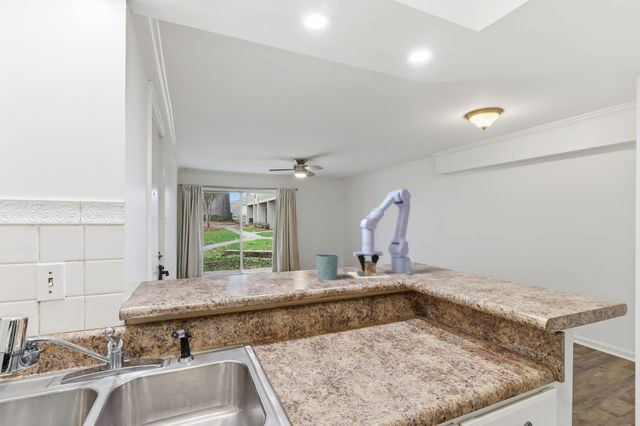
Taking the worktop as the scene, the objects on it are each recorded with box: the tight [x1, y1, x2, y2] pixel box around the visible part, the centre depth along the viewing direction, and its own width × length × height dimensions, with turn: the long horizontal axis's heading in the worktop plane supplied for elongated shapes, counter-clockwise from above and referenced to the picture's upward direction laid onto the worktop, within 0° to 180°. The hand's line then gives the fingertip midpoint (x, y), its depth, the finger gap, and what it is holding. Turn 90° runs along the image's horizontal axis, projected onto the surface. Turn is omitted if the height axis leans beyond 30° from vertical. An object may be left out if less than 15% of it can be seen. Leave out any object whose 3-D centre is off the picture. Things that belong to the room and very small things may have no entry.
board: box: [346, 270, 392, 280], centre depth 146 cm, size 18×16×1 cm
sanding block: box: [360, 260, 377, 276], centre depth 147 cm, size 4×10×6 cm, turn 9°
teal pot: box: [315, 253, 339, 284], centre depth 137 cm, size 10×10×12 cm
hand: (368, 270), depth 146 cm, fingers closed on sanding block, 4 cm apart
